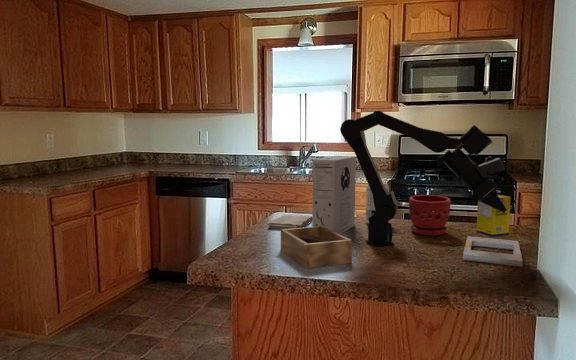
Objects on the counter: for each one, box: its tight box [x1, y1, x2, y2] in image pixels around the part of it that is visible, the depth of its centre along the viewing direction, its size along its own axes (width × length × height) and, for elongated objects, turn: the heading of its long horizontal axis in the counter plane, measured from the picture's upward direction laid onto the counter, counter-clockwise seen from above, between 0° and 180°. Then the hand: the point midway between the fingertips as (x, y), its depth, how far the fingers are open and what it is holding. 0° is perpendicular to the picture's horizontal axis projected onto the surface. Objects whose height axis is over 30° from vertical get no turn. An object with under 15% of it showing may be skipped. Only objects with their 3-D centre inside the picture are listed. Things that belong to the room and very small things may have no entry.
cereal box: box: [311, 155, 357, 235], centre depth 150 cm, size 22×8×25 cm, turn 154°
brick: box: [298, 235, 332, 244], centre depth 123 cm, size 11×4×5 cm, turn 52°
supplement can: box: [365, 181, 390, 225], centre depth 163 cm, size 8×8×15 cm
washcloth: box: [267, 214, 312, 231], centre depth 161 cm, size 12×18×3 cm, turn 162°
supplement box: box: [476, 194, 511, 238], centre depth 124 cm, size 6×6×11 cm
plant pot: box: [408, 194, 451, 236], centre depth 148 cm, size 13×13×12 cm
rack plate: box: [462, 235, 524, 267], centre depth 125 cm, size 22×14×2 cm, turn 155°
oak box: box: [280, 226, 353, 269], centre depth 121 cm, size 13×18×6 cm
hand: (503, 208), depth 123 cm, fingers closed on supplement box, 8 cm apart
